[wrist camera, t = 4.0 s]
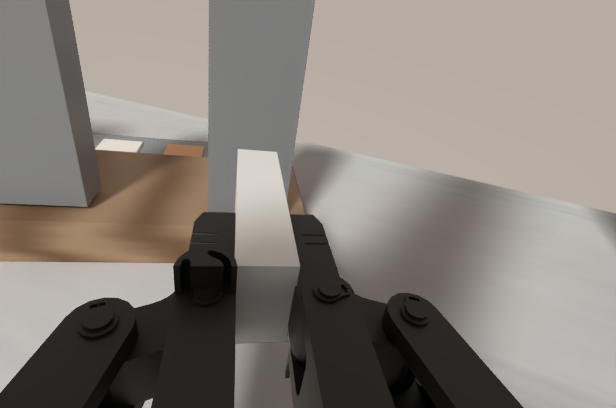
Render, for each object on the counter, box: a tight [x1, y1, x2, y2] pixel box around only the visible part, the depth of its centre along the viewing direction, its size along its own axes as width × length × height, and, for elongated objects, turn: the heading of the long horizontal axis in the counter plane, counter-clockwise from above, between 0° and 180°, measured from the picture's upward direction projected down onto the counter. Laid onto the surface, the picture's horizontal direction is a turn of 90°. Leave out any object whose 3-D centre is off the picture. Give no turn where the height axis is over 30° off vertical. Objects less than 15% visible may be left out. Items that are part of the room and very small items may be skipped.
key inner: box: [208, 0, 315, 213], centre depth 20 cm, size 3×5×14 cm, turn 99°
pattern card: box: [92, 133, 208, 158], centre depth 34 cm, size 18×7×1 cm, turn 99°
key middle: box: [0, 0, 102, 207], centre depth 18 cm, size 3×5×14 cm, turn 99°
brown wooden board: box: [0, 150, 305, 263], centre depth 25 cm, size 32×10×3 cm, turn 99°
